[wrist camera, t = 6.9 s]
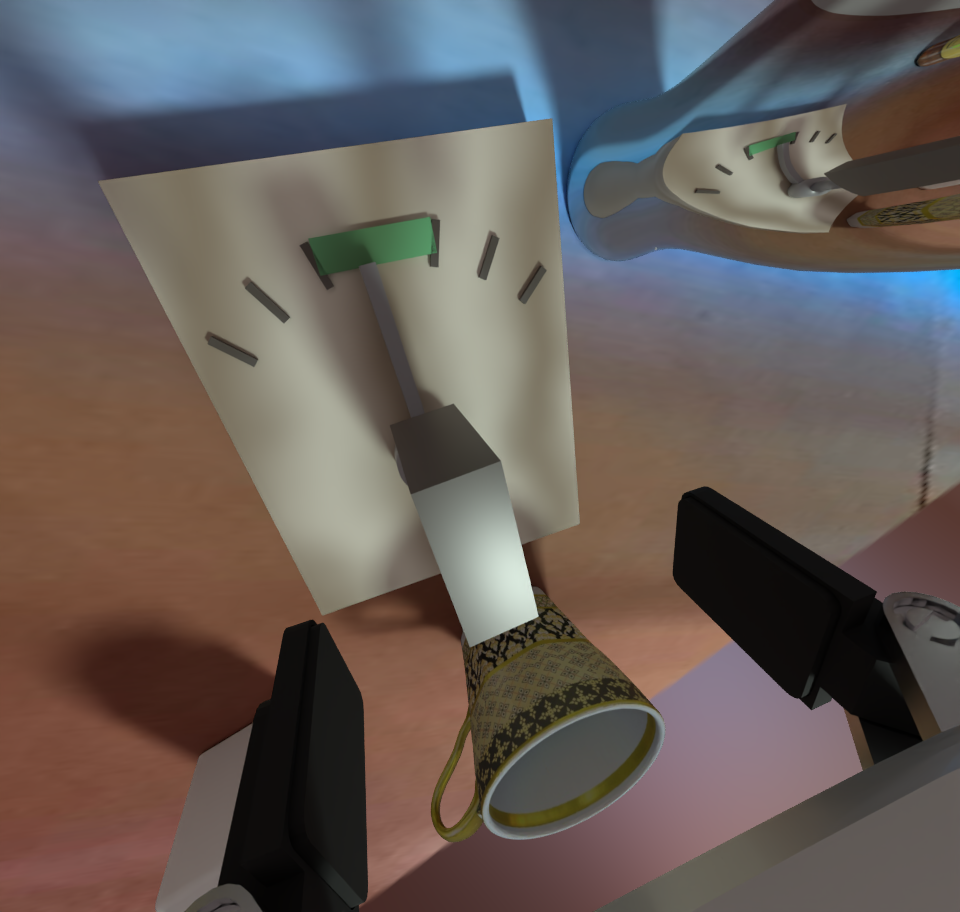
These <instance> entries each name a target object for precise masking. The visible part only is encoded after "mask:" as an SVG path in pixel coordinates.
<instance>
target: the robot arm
mask: <svg viewBox="0 0 960 912" xmlns="http://www.w3.org/2000/svg"><path fill="white" fill-rule="evenodd" d="M673 577H674V580H675V582H676V583H677V585H678V586H679V587H680V588H681V589H682V590H683V591H684V592H685V593H686V594H687V595H688V596H689V597H690V598H691V599H692V600H693V601H694V602H695V603H696V604H697V605H698V606H699V607H700V608H701V609H702V610H703V611H704V612H705V613H706V614H707V615H708V616H709V617H710V618H711V619H712V620H713V621H714V622H715V623H717V624H718V625H719V626H720V627H721V628H722V629H723V630H724V631H725V632H726V633H727V634H728V635H729V636H730V637H731V638H732V639H733V640H734V641H735V642H736V643H737V644H738V645H739V646H740V647H741V648H742V649H743V650H744V651H745V652H746V653H747V654H748V655H749V656H750V657H751V658H752V659H753V660H754V661H755V662H756V663H757V664H758V665H759V666H760V667H761V668H762V669H763V670H764V671H765V672H766V673H767V674H768V675H769V676H770V677H771V678H772V679H773V680H774V681H775V682H777V684H778V685H779V686H781V687H782V689H784V690H785V691H786V692H787V693H788V694H789V695H791V696H792V697H794V698H799V699H800V700H801V701H802V702H804V704H805V705H807V706H808V707H809V708H810V709H811V710H813V709H815V708H817V707H819V706H821V705H823V704H825V703H828V702H830V701H831V699H832V698H833V699H834V700H835V701H837V702H838V703H839V704H840V705H841V706H842V707H843V708H844V710H845V714H846V717H847V721H848V724H849V727H850V730H851V733H852V736H853V740H854V743H855V746H856V750H857V753H858V756H859V759H860V763H861V766H862V769H863V771H862V772H860V773H858V774H856V775H854V776H852V777H850V778H848V779H846V780H844V781H842V782H840V783H838V784H837V785H835V786H833V787H831V788H829V789H827V790H825V791H823V792H821V793H819V794H817V795H815V796H813V797H811V798H809V799H807V800H805V801H803V802H802V803H800V804H798V805H796V806H794V807H792V808H790V809H788V810H786V811H784V812H782V813H781V814H778V815H776V816H775V817H773V818H771V819H769V820H767V821H765V822H763V823H761V824H759V825H757V826H755V827H753V828H751V829H750V830H748V831H746V832H744V833H742V834H740V835H738V836H736V837H734V838H732V839H730V840H729V841H727V842H725V843H723V844H721V845H719V846H717V847H715V848H713V849H711V850H709V851H707V852H706V853H704V854H702V855H700V856H698V857H696V858H694V859H692V860H690V861H688V862H686V863H685V864H683V865H681V866H679V867H677V868H675V869H673V870H671V871H669V872H667V873H665V874H664V875H662V876H660V877H658V878H656V879H654V880H652V881H650V882H648V883H646V884H645V885H643V886H641V887H639V888H637V889H635V890H633V891H631V892H629V893H627V894H626V895H624V896H622V897H620V898H618V899H616V900H614V901H613V902H611V903H609V904H607V905H605V906H603V907H601V908H599V909H597V910H596V911H594V912H960V607H958V606H956V605H954V604H952V603H950V602H948V601H945V600H943V599H940V598H937V597H934V596H930V595H926V594H921V593H916V592H898V593H892V594H891V595H889V596H887V597H886V598H885V599H884V602H883V603H882V602H880V601H879V600H877V599H876V598H874V597H875V595H876V593H877V592H876V591H875V590H873V589H872V588H870V587H868V586H867V585H865V584H864V583H862V582H860V581H859V580H857V579H856V578H854V577H853V576H851V575H849V574H848V573H846V572H844V571H843V570H841V569H840V568H838V567H837V566H835V565H833V564H832V563H830V562H829V561H827V560H825V559H824V558H822V557H821V556H819V555H817V554H816V553H814V552H813V551H811V550H809V549H808V548H806V547H804V546H803V545H801V544H800V543H798V542H796V541H795V540H793V539H792V538H790V537H788V536H787V535H785V534H784V533H782V532H780V531H779V530H777V529H776V528H774V527H772V526H771V525H769V524H768V523H766V522H764V521H763V520H761V519H760V518H758V517H756V516H755V515H753V514H752V513H750V512H748V511H747V510H745V509H744V508H742V507H740V506H739V505H737V504H736V503H734V502H732V501H731V500H729V499H728V498H726V497H724V496H723V495H721V494H720V493H718V492H716V491H715V490H713V489H712V488H709V487H705V486H704V487H701V488H698V489H695V490H692V491H689V492H686V493H684V494H683V495H682V499H681V500H680V501H679V503H678V512H677V524H676V537H675V549H674V562H673ZM367 893H368V869H367V829H366V789H365V749H364V709H363V700H362V696H361V692H360V690H359V688H358V686H357V684H356V682H355V681H354V679H353V677H352V675H351V673H350V671H349V669H348V667H347V665H346V663H345V661H344V660H343V658H342V656H341V654H340V652H339V650H338V648H337V646H336V644H335V642H334V640H333V639H332V637H331V635H330V633H329V631H328V629H327V627H326V625H325V624H324V623H320V624H318V625H317V624H316V622H315V621H314V620H309V621H306V622H303V623H300V624H297V625H294V626H291V627H288V628H286V629H285V631H284V634H283V638H282V644H281V649H280V654H279V660H278V665H277V670H276V676H275V681H274V686H273V692H272V697H271V699H270V700H267V701H265V702H263V703H261V704H260V705H259V707H258V708H257V710H256V713H255V717H254V720H253V725H252V729H251V734H250V739H249V743H248V748H247V753H246V757H245V762H244V766H243V771H242V776H241V780H240V785H239V789H238V794H237V799H236V803H235V808H234V812H233V817H232V822H231V826H230V831H229V835H228V840H227V845H226V849H225V854H224V858H223V863H222V868H221V872H220V877H219V882H218V886H217V887H216V888H213V889H211V890H210V891H208V892H207V893H205V894H204V895H202V896H201V897H199V898H198V899H197V900H195V901H194V902H193V903H192V904H191V905H190V906H189V907H188V908H187V909H186V910H185V911H184V912H359V904H361V903H364V902H365V901H366V899H367Z"/></svg>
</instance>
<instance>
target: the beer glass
mask: <svg viewBox="0 0 960 912" xmlns="http://www.w3.org/2000/svg"><path fill="white" fill-rule="evenodd" d="M567 203H568V210H569V215H570V219H571V222H572V225H573V228H574V230H575V232H576V234H577V236H578V237H579V239H580V240H581V242H582V243H583V244H584V246H585V247H586V248H587V249H588V250H590V251H591V252H592V253H593V254H595V255H597V256H599V257H601V258H603V259H606V260H610V261H625V260H631V259H634V258H637V257H640V256H643V255H646V254H648V253H651V252H654V251H658V250H663V249H682V250H688V251H693V252H699V253H703V254H707V255H712V256H716V257H721V258H725V259H730V260H735V261H740V262H745V263H750V264H754V265H761V266H768V267H775V268H782V269H789V270H796V271H812V272H837V273H884V272H920V271H937V270H955V269H960V0H774V1H773V2H772V3H771V4H770V5H768V6H767V7H766V8H765V9H764V10H763V11H762V12H760V13H759V14H758V15H757V16H756V17H755V18H753V19H752V20H751V21H750V22H749V23H748V24H747V25H745V26H744V27H743V28H742V29H741V30H740V31H738V32H737V33H736V34H735V35H734V36H733V37H732V38H730V39H729V40H728V41H727V42H726V43H725V44H724V45H723V46H721V47H720V48H719V49H718V50H717V51H716V52H715V53H714V54H712V55H711V56H710V57H709V58H708V59H707V60H706V61H705V62H703V63H702V64H701V65H700V66H699V67H698V68H696V69H695V70H694V71H693V72H692V73H690V74H689V75H688V76H687V77H686V78H684V79H683V80H682V81H681V82H680V83H678V84H677V85H675V86H674V87H672V88H671V89H669V90H668V91H666V92H664V93H662V94H660V95H658V96H656V97H653V98H648V99H643V100H638V101H632V102H628V103H624V104H621V105H618V106H616V107H614V108H611V109H610V110H608V111H606V112H605V113H603V114H602V115H601V116H600V117H598V118H597V119H596V120H595V121H594V122H593V123H592V125H591V126H590V127H589V128H588V130H587V131H586V132H585V134H584V135H583V137H582V138H581V140H580V142H579V144H578V146H577V148H576V150H575V153H574V156H573V158H572V162H571V165H570V169H569V175H568V182H567Z"/></svg>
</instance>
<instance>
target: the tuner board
mask: <svg viewBox="0 0 960 912" xmlns="http://www.w3.org/2000/svg"><path fill="white" fill-rule="evenodd" d="M98 183H99V185H100V186H101V188H102V190H103V192H104V194H105V196H106V198H107V200H108V202H109V204H110V206H111V208H112V210H113V212H114V214H115V215H116V217H117V219H118V221H119V223H120V225H121V227H122V229H123V231H124V233H125V235H126V237H127V239H128V241H129V243H130V244H131V246H132V248H133V250H134V252H135V254H136V256H137V258H138V260H139V262H140V264H141V266H142V268H143V270H144V272H145V273H146V275H147V277H148V279H149V281H150V283H151V285H152V287H153V289H154V291H155V293H156V295H157V297H158V299H159V300H160V302H161V304H162V306H163V308H164V310H165V312H166V314H167V316H168V318H169V320H170V322H171V324H172V326H173V328H174V329H175V331H176V333H177V335H178V337H179V339H180V341H181V343H182V345H183V347H184V349H185V351H186V353H187V355H188V357H189V358H190V360H191V362H192V364H193V366H194V368H195V370H196V372H197V374H198V376H199V378H200V380H201V382H202V384H203V386H204V387H205V389H206V391H207V393H208V395H209V397H210V399H211V401H212V403H213V405H214V407H215V409H216V411H217V413H218V415H219V416H220V418H221V420H222V422H223V424H224V426H225V428H226V430H227V432H228V434H229V436H230V438H231V440H232V442H233V443H234V445H235V447H236V449H237V451H238V453H239V455H240V457H241V459H242V461H243V463H244V465H245V467H246V469H247V471H248V472H249V474H250V476H251V478H252V480H253V482H254V484H255V486H256V488H257V490H258V492H259V494H260V496H261V498H262V500H263V501H264V503H265V505H266V507H267V509H268V511H269V513H270V515H271V517H272V519H273V521H274V523H275V525H276V527H277V529H278V530H279V532H280V534H281V536H282V538H283V540H284V542H285V544H286V546H287V548H288V550H289V552H290V554H291V556H292V558H293V559H294V561H295V563H296V565H297V567H298V569H299V571H300V573H301V575H302V577H303V579H304V581H305V583H306V585H307V586H308V588H309V590H310V592H311V594H312V596H313V598H314V600H315V602H316V604H317V606H318V608H319V610H320V612H321V614H322V615H325V614H328V613H331V612H334V611H336V610H339V609H342V608H345V607H348V606H350V605H353V604H356V603H359V602H362V601H365V600H367V599H370V598H373V597H376V596H379V595H381V594H384V593H387V592H390V591H393V590H395V589H398V588H401V587H404V586H407V585H409V584H412V583H415V582H418V581H421V580H424V579H426V578H429V577H432V576H435V575H438V574H440V573H441V571H440V569H439V566H438V564H437V561H436V559H435V556H434V553H433V551H432V548H431V546H430V543H429V541H428V538H427V535H426V533H425V530H424V528H423V525H422V523H421V520H420V517H419V515H418V512H417V510H416V507H415V504H414V502H413V499H412V497H411V494H410V491H409V487H408V486H407V485H406V484H405V483H404V481H403V480H402V478H401V476H400V474H399V471H398V468H397V464H396V460H395V455H394V449H395V441H394V438H393V434H392V431H391V428H390V425H392V424H395V423H398V422H401V421H404V420H407V419H409V418H411V416H410V413H409V410H408V407H407V404H406V402H405V399H404V396H403V393H402V390H401V387H400V384H399V381H398V379H397V376H396V373H395V370H394V367H393V364H392V361H391V358H390V356H389V353H388V350H387V347H386V344H385V341H384V338H383V335H382V333H381V330H380V327H379V324H378V321H377V318H376V315H375V312H374V310H373V307H372V304H371V301H370V298H369V295H368V292H367V289H366V287H365V284H364V281H363V278H362V275H361V272H360V269H359V266H361V265H365V264H369V263H372V262H376V265H377V268H378V271H379V274H380V277H381V280H382V283H383V287H384V290H385V293H386V296H387V299H388V302H389V305H390V308H391V311H392V314H393V317H394V320H395V323H396V326H397V329H398V332H399V335H400V338H401V342H402V345H403V348H404V351H405V354H406V357H407V360H408V363H409V366H410V369H411V372H412V375H413V378H414V381H415V384H416V387H417V390H418V393H419V396H420V400H421V403H422V406H423V409H424V412H425V413H427V412H430V411H433V410H436V409H439V408H442V407H445V406H448V405H451V404H454V405H455V406H456V407H457V408H458V409H459V411H460V412H461V413H462V414H463V415H464V417H465V418H466V419H467V420H468V421H469V423H470V424H471V425H472V426H473V428H474V429H475V430H476V431H477V432H478V434H479V435H480V436H481V437H482V438H483V440H484V441H485V442H486V443H487V444H488V446H489V447H490V448H491V449H492V451H493V452H494V453H495V454H496V455H497V457H498V458H499V459H500V460H501V463H502V467H503V471H504V475H505V479H506V483H507V487H508V492H509V496H510V500H511V504H512V508H513V512H514V516H515V521H516V525H517V529H518V533H519V537H520V541H521V545H522V544H525V543H527V542H530V541H533V540H536V539H539V538H541V537H544V536H547V535H550V534H553V533H556V532H558V531H561V530H564V529H567V528H570V527H572V526H575V525H578V524H580V520H579V506H578V491H577V476H576V461H575V447H574V432H573V417H572V403H571V388H570V373H569V358H568V344H567V329H566V314H565V300H564V285H563V270H562V255H561V241H560V226H559V211H558V197H557V182H556V167H555V152H554V138H553V123H552V119H544V120H537V121H530V122H523V123H515V124H508V125H501V126H494V127H486V128H479V129H472V130H465V131H457V132H450V133H443V134H436V135H428V136H421V137H414V138H407V139H399V140H392V141H385V142H378V143H370V144H363V145H356V146H349V147H342V148H334V149H327V150H320V151H313V152H305V153H298V154H291V155H284V156H276V157H269V158H262V159H255V160H247V161H240V162H233V163H226V164H218V165H211V166H204V167H197V168H189V169H182V170H175V171H168V172H160V173H153V174H146V175H139V176H131V177H124V178H117V179H110V180H102V181H98Z"/></svg>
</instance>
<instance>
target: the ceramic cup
mask: <svg viewBox="0 0 960 912" xmlns="http://www.w3.org/2000/svg"><path fill="white" fill-rule="evenodd" d="M532 591H533V595H534V599H535V603H536V607H537V612H538V616H539V617H537V618H535V619H532V620H530V621H528V622H526V623H523V624H521V625H519V626H517V627H514V628H512V629H510V630H508V631H505V632H503V633H501V634H499V635H497V636H494V637H492V638H490V639H488V640H485V641H483V642H481V643H479V644H476V645H474V646H472V647H470V646H469V644H468V641H467V638H466V636H465V633H464V631H463V633H462V637H461V645H462V651H463V658H464V665H465V674H466V684H467V693H468V703H469V707H468V712H467V716H466V719H465V721H464V723H463V725H462V727H461V729H460V731H459V734H458V737H457V740H456V743H455V747H454V749H453V752H452V754H451V756H450V758H449V760H448V762H447V764H446V766H445V768H444V770H443V772H442V774H441V776H440V778H439V780H438V783H437V785H436V787H435V790H434V794H433V797H432V803H431V817H432V821H433V825H434V827H435V829H436V831H437V832H438V834H439V835H440V836H441V837H442V838H443V839H445V840H447V841H448V842H460V841H462V840H464V839H467V838H469V837H470V836H472V835H473V834H474V833H475V832H476V831H477V829H478V828H479V827H480V826H481V825H482V823H483V821H484V824H485V825H486V827H487V828H488V829H489V830H490V831H491V832H492V833H494V834H496V835H498V836H500V837H503V838H508V839H519V840H522V839H533V838H538V837H543V836H547V835H550V834H554V833H557V832H560V831H562V830H565V829H568V828H570V827H572V826H575V825H577V824H579V823H581V822H583V821H585V820H587V819H588V818H591V817H592V816H594V815H596V814H597V813H599V812H601V811H602V810H604V809H605V808H607V807H608V806H609V805H611V804H612V803H614V802H615V801H617V800H618V799H619V798H620V797H622V796H623V795H624V794H625V793H626V792H628V791H629V790H630V789H631V788H632V787H633V786H634V785H635V784H636V783H637V782H638V781H639V780H640V779H641V778H642V777H643V776H644V774H645V773H646V772H647V771H648V769H649V768H650V767H651V765H652V764H653V762H654V761H655V759H656V758H657V756H658V754H659V752H660V750H661V747H662V745H663V741H664V738H665V724H664V720H663V718H662V716H661V714H660V713H659V711H658V710H657V709H656V708H655V707H654V706H653V705H652V704H651V703H650V701H649V700H648V699H647V698H646V697H645V696H644V695H643V694H642V692H641V691H640V690H639V689H638V688H637V687H636V686H635V685H634V684H633V683H632V682H631V680H630V679H629V678H628V677H627V676H626V675H625V674H624V673H623V672H622V671H621V670H620V669H619V668H618V667H617V666H616V665H615V664H614V663H613V662H612V661H611V660H610V659H609V658H608V657H606V656H605V655H604V654H603V653H602V652H601V651H600V650H599V649H598V648H596V647H595V646H594V645H593V644H592V643H591V642H590V641H589V640H588V639H587V638H586V637H585V636H584V635H583V634H582V633H581V632H580V631H579V630H578V629H577V627H576V626H575V625H574V624H573V623H572V622H571V621H570V620H569V619H568V618H567V617H566V616H565V615H564V614H563V613H562V612H561V611H560V610H559V609H558V607H557V606H556V605H555V604H554V603H553V602H552V601H551V600H550V598H549V597H548V596H546V594H545V593H544V592H543V591H542V590H541V589H540V588H538V587H532ZM470 730H471V734H472V743H473V753H474V765H475V775H476V781H475V793H474V797H473V800H472V802H471V804H470V806H469V808H468V810H467V811H466V813H465V814H464V816H463V817H462V819H461V820H460V821H459V822H458V823H457V824H456V825H454V826H453V827H451V828H446V827H445V826H444V825H443V823H442V821H441V818H440V802H441V798H442V795H443V792H444V790H445V787H446V785H447V783H448V781H449V779H450V777H451V775H452V773H453V771H454V769H455V767H456V765H457V763H458V760H459V758H460V756H461V753H462V750H463V747H464V743H465V740H466V737H467V735H468V733H469V731H470Z"/></svg>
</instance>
